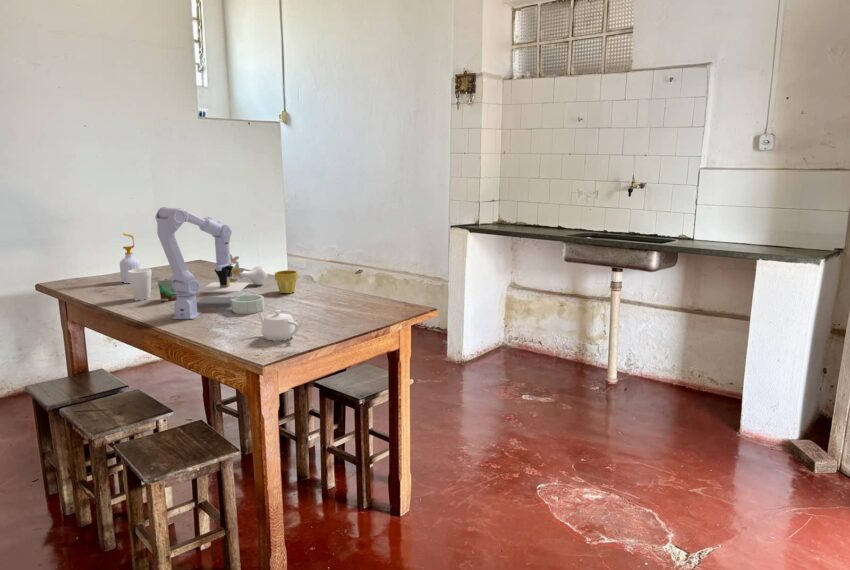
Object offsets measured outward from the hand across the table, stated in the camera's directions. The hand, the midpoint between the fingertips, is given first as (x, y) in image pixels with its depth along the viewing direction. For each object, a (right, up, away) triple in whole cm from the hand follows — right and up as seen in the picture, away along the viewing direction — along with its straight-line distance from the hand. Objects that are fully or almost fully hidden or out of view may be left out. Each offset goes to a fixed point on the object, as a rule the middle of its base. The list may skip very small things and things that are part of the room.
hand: (225, 284), depth 264 cm
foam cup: (-41, -7, +13) cm, 44 cm away
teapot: (+33, -19, -42) cm, 57 cm away
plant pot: (+21, -4, +26) cm, 33 cm away
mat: (-5, -8, +6) cm, 11 cm away
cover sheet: (0, -2, 0) cm, 2 cm away
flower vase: (-2, -2, +34) cm, 34 cm away
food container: (-26, -7, +11) cm, 29 cm away
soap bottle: (-62, +1, +47) cm, 78 cm away
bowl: (+12, -11, -7) cm, 18 cm away
